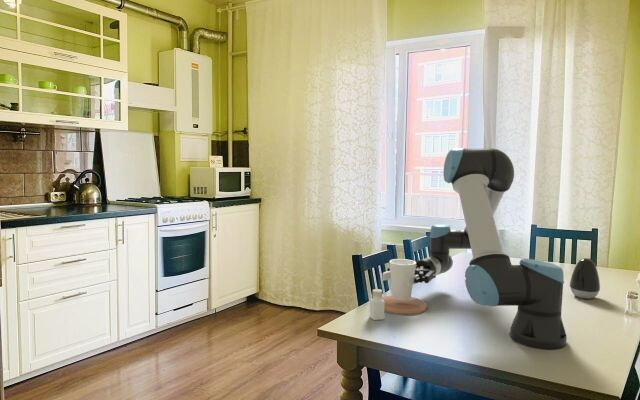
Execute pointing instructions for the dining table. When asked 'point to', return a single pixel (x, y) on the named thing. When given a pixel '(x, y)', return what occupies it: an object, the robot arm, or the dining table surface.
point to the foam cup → (401, 277)
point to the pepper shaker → (377, 305)
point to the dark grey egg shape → (585, 279)
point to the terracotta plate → (404, 306)
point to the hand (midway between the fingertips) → (395, 279)
